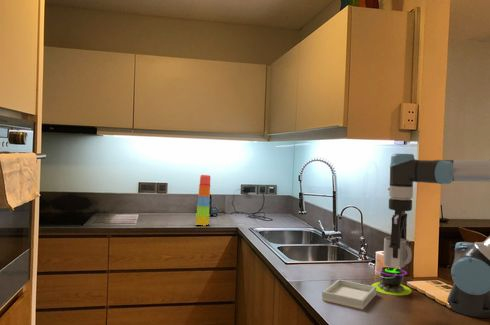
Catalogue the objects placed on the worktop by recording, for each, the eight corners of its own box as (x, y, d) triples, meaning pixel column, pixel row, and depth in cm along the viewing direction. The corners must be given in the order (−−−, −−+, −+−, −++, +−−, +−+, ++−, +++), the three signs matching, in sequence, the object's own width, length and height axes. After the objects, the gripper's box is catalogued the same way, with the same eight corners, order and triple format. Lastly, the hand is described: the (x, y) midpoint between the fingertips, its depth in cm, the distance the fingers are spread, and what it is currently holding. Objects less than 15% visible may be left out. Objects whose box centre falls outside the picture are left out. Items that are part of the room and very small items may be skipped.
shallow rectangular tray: (376, 294, 154) (376, 286, 154) (362, 309, 139) (363, 300, 139) (338, 286, 162) (338, 279, 162) (322, 300, 147) (322, 291, 147)
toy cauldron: (366, 282, 169) (367, 255, 169) (402, 283, 169) (403, 256, 169) (378, 295, 154) (379, 266, 154) (418, 296, 154) (419, 267, 154)
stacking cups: (195, 223, 286) (196, 174, 285) (210, 224, 287) (211, 174, 285) (194, 226, 276) (195, 175, 274) (209, 227, 276) (210, 175, 275)
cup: (391, 260, 147) (392, 236, 147) (417, 267, 139) (418, 241, 139) (378, 263, 143) (379, 238, 143) (404, 271, 135) (405, 244, 135)
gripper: (395, 195, 151) (392, 256, 152) (382, 200, 134) (379, 269, 135) (417, 196, 147) (414, 260, 148) (406, 202, 130) (403, 273, 131)
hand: (397, 264), depth 142 cm, fingers closed on cup, 7 cm apart
